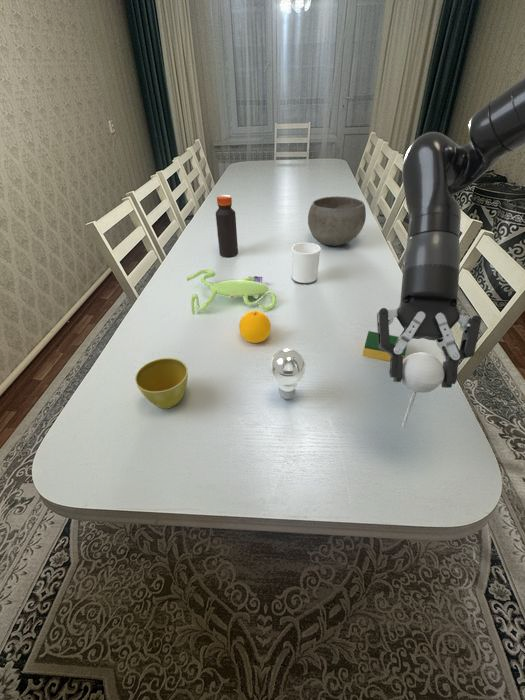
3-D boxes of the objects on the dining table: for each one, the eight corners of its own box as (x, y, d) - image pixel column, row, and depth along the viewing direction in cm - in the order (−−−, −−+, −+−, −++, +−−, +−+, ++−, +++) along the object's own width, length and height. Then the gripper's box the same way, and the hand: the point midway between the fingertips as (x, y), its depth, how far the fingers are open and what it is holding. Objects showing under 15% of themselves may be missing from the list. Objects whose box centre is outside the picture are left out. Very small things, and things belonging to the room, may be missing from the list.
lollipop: (376, 424, 60) (394, 355, 50) (397, 407, 63) (417, 338, 53) (410, 447, 56) (435, 377, 47) (430, 428, 59) (458, 358, 50)
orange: (235, 333, 93) (233, 308, 88) (264, 326, 95) (263, 301, 90) (245, 350, 87) (244, 325, 82) (275, 343, 89) (276, 317, 84)
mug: (309, 288, 110) (311, 256, 104) (285, 280, 115) (285, 249, 108) (326, 274, 117) (329, 244, 111) (303, 267, 121) (305, 238, 115)
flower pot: (171, 376, 80) (165, 351, 76) (202, 396, 75) (198, 370, 71) (133, 402, 74) (124, 376, 70) (164, 426, 69) (156, 400, 65)
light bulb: (267, 388, 77) (266, 343, 69) (298, 383, 77) (301, 339, 70) (273, 412, 71) (273, 367, 64) (307, 407, 72) (311, 361, 65)
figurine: (190, 283, 114) (188, 267, 111) (274, 281, 114) (274, 264, 111) (181, 315, 100) (178, 297, 96) (277, 312, 100) (277, 294, 97)
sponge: (404, 349, 86) (407, 338, 84) (402, 364, 82) (405, 353, 80) (366, 341, 89) (368, 330, 87) (362, 355, 84) (364, 345, 82)
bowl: (317, 229, 149) (320, 191, 140) (367, 236, 142) (373, 197, 133) (298, 247, 135) (300, 206, 126) (353, 256, 128) (359, 214, 118)
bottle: (235, 258, 129) (231, 200, 116) (217, 257, 130) (211, 199, 117) (240, 250, 134) (236, 194, 122) (222, 249, 135) (217, 193, 123)
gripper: (383, 258, 50) (373, 377, 49) (495, 264, 48) (488, 390, 46) (375, 275, 58) (366, 379, 56) (472, 282, 55) (465, 390, 53)
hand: (421, 384), depth 51 cm, fingers closed on lollipop, 6 cm apart
